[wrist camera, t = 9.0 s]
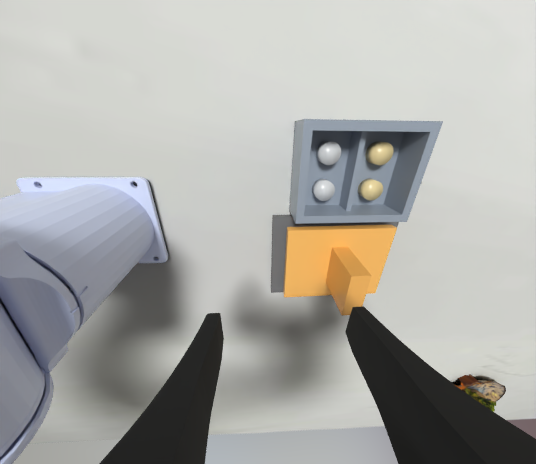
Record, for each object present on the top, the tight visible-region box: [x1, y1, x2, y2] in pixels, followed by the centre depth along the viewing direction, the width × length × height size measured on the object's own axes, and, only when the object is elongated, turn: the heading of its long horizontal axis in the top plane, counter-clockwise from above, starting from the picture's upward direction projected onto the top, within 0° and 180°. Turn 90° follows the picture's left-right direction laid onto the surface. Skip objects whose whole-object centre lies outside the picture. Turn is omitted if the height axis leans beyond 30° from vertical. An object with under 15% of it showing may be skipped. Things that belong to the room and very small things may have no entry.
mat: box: [271, 215, 399, 293], centre depth 20 cm, size 12×9×1 cm
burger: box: [455, 375, 506, 411], centre depth 33 cm, size 12×12×8 cm
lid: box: [283, 225, 397, 315], centre depth 18 cm, size 10×8×6 cm
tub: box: [289, 119, 443, 224], centre depth 15 cm, size 9×7×3 cm
